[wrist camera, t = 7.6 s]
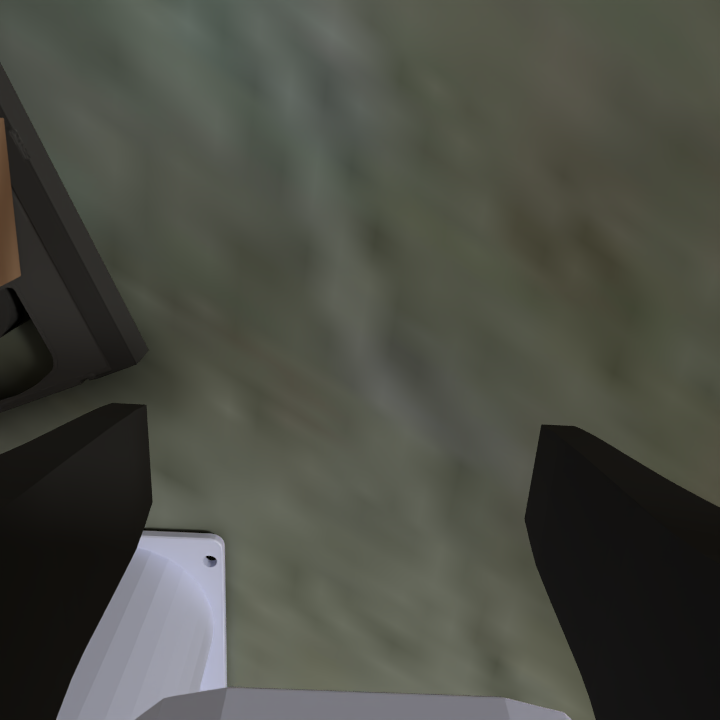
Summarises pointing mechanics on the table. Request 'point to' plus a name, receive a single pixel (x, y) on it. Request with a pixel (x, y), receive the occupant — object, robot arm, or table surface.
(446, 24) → the table surface
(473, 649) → the table surface
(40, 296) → the vhs tape
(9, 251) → the walnut block
